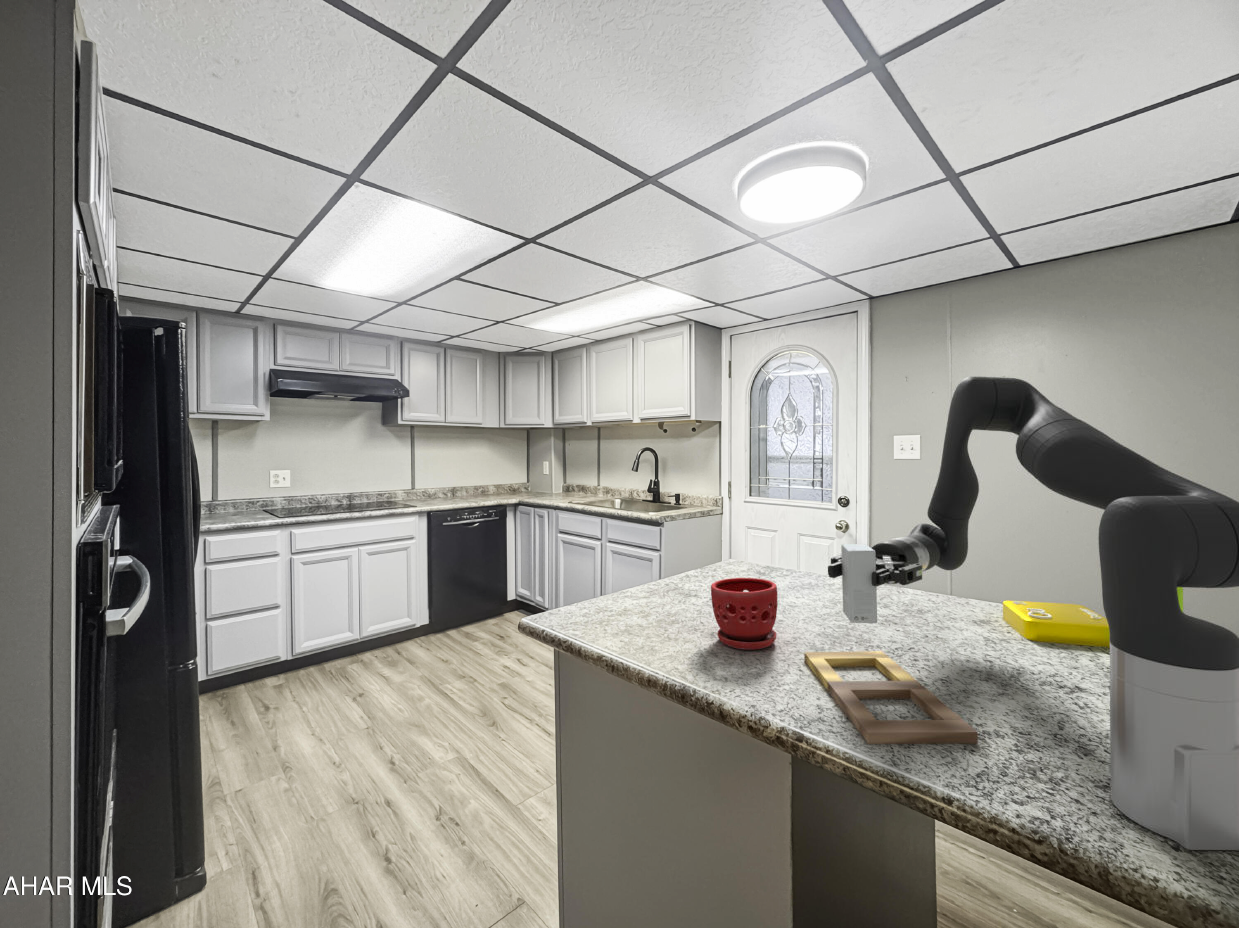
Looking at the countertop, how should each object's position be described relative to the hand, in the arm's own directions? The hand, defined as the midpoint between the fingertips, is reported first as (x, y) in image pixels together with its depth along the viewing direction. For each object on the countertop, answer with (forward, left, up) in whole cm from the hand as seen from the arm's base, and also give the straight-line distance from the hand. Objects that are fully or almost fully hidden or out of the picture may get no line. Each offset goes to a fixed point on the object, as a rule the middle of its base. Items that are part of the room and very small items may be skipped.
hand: (851, 575), depth 85 cm
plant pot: (+18, +14, -18) cm, 29 cm away
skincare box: (+2, -2, -8) cm, 8 cm away
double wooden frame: (-5, -2, -18) cm, 18 cm away
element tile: (+22, -50, -18) cm, 57 cm away
